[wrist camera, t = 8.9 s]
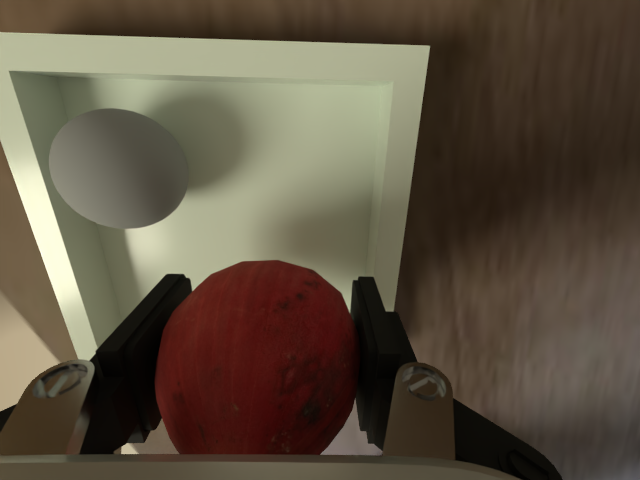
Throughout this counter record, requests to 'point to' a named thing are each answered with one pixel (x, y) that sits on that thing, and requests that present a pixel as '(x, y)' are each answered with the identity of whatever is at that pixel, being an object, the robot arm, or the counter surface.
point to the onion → (258, 363)
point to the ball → (118, 168)
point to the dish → (220, 160)
